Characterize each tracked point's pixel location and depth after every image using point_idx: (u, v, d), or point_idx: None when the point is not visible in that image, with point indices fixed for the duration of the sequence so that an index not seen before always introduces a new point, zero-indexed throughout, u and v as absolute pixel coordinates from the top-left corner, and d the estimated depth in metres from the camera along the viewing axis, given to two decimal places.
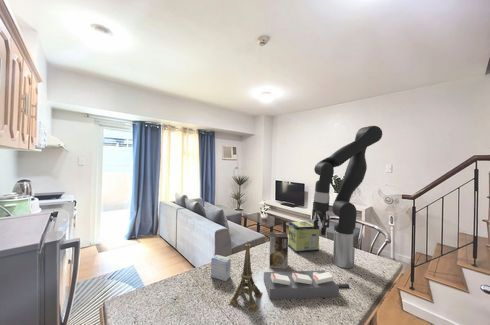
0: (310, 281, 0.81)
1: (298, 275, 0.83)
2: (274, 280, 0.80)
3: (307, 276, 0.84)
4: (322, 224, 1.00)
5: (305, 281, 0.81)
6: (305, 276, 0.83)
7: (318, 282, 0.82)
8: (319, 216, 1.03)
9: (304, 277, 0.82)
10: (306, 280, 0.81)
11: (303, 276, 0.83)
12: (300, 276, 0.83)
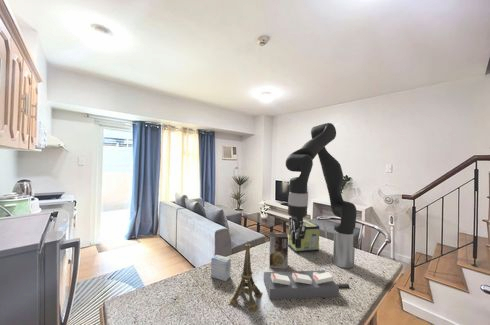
0: (310, 281, 0.81)
1: (298, 275, 0.83)
2: (274, 280, 0.80)
3: (307, 276, 0.84)
4: (296, 235, 0.80)
5: (305, 281, 0.81)
6: (305, 276, 0.83)
7: (318, 282, 0.82)
8: (294, 224, 0.80)
9: (304, 277, 0.82)
10: (306, 280, 0.81)
11: (303, 276, 0.83)
12: (300, 276, 0.83)
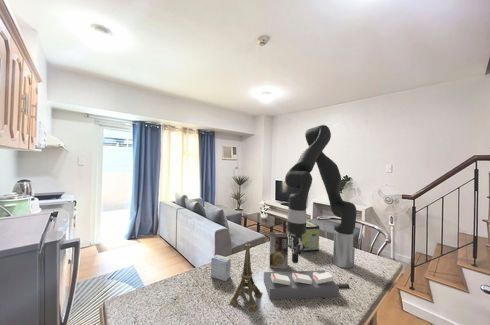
0: (310, 281, 0.81)
1: (298, 275, 0.83)
2: (274, 280, 0.80)
3: (307, 276, 0.84)
4: (294, 251, 0.81)
5: (305, 281, 0.81)
6: (305, 276, 0.83)
7: (318, 282, 0.82)
8: (293, 241, 0.81)
9: (304, 277, 0.82)
10: (306, 280, 0.81)
11: (303, 276, 0.83)
12: (300, 276, 0.83)
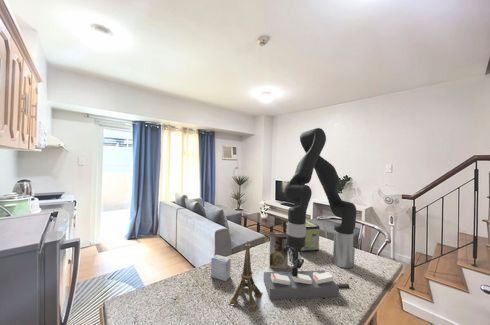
0: (310, 281, 0.81)
1: (298, 275, 0.83)
2: (274, 280, 0.80)
3: (307, 276, 0.84)
4: (293, 265, 0.81)
5: (305, 281, 0.81)
6: (305, 276, 0.83)
7: (318, 282, 0.82)
8: (292, 255, 0.81)
9: (304, 277, 0.82)
10: (306, 280, 0.81)
11: (303, 276, 0.83)
12: (300, 276, 0.83)
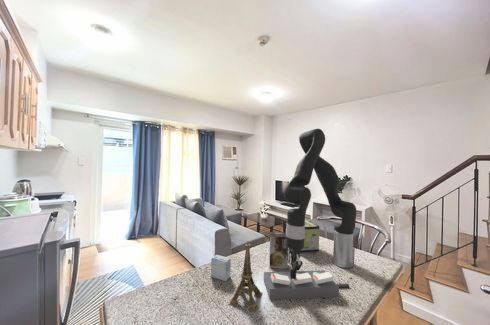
0: (310, 279, 0.81)
1: (297, 276, 0.83)
2: (274, 280, 0.80)
3: (306, 274, 0.84)
4: (292, 267, 0.81)
5: (305, 280, 0.81)
6: (304, 275, 0.83)
7: (318, 282, 0.82)
8: (291, 257, 0.80)
9: (303, 276, 0.82)
10: (306, 279, 0.81)
11: (302, 275, 0.83)
12: (299, 277, 0.82)
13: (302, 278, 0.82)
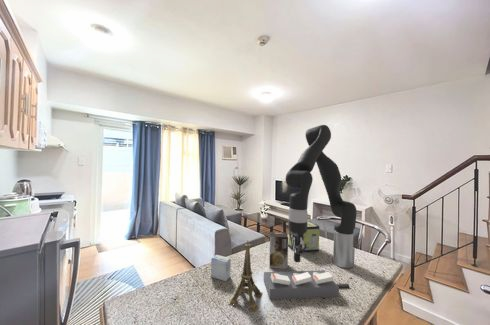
0: (310, 278, 0.81)
1: (297, 277, 0.83)
2: (274, 280, 0.80)
3: (306, 273, 0.84)
4: (296, 250, 0.81)
5: (305, 280, 0.81)
6: (304, 274, 0.83)
7: (318, 282, 0.82)
8: (295, 241, 0.81)
9: (303, 276, 0.82)
10: (306, 279, 0.81)
11: (302, 275, 0.83)
12: (299, 277, 0.82)
13: (302, 278, 0.82)
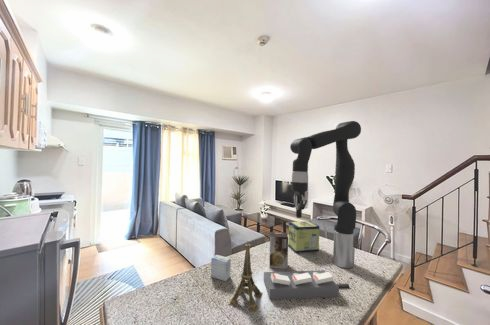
0: (310, 278, 0.81)
1: (297, 276, 0.83)
2: (274, 280, 0.80)
3: (306, 274, 0.84)
4: (298, 207, 0.95)
5: (305, 280, 0.81)
6: (304, 275, 0.83)
7: (318, 282, 0.82)
8: (297, 198, 0.94)
9: (303, 276, 0.82)
10: (306, 279, 0.81)
11: (302, 275, 0.83)
12: (299, 277, 0.82)
13: (302, 278, 0.82)
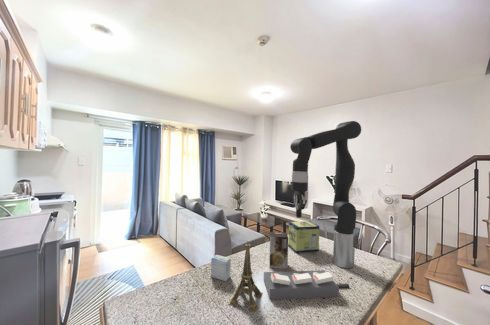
0: (310, 279, 0.81)
1: (297, 276, 0.83)
2: (274, 280, 0.80)
3: (307, 274, 0.84)
4: (298, 207, 0.95)
5: (305, 280, 0.81)
6: (304, 275, 0.83)
7: (318, 282, 0.82)
8: (297, 198, 0.94)
9: (303, 276, 0.82)
10: (306, 279, 0.81)
11: (302, 276, 0.83)
12: (299, 277, 0.82)
13: (302, 278, 0.82)
